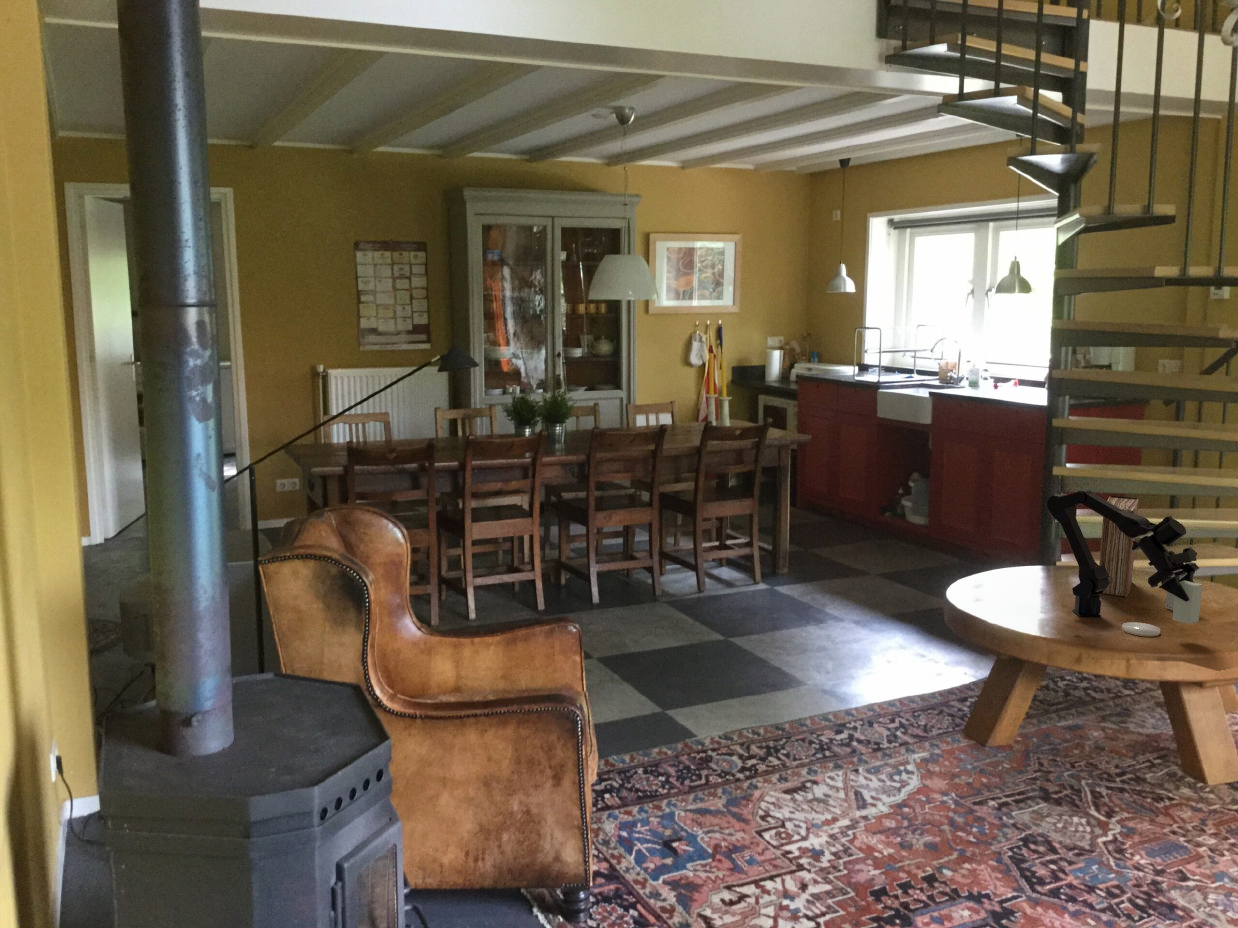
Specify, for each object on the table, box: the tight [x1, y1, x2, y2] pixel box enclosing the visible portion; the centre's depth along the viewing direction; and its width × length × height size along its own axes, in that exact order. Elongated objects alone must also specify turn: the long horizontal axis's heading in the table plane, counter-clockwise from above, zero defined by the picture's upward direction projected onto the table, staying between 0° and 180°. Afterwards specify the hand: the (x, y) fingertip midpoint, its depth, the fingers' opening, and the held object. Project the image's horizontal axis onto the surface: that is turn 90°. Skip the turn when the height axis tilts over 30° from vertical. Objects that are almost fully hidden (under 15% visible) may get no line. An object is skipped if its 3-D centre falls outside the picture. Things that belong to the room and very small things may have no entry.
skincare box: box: [1164, 591, 1175, 611], centre depth 330 cm, size 6×4×12 cm
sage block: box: [1171, 580, 1203, 625], centre depth 298 cm, size 5×5×11 cm
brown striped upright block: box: [1098, 495, 1140, 599], centre depth 354 cm, size 25×9×30 cm, turn 151°
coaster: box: [1121, 621, 1161, 637], centre depth 307 cm, size 10×10×1 cm
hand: (1192, 599), depth 297 cm, fingers closed on sage block, 5 cm apart
